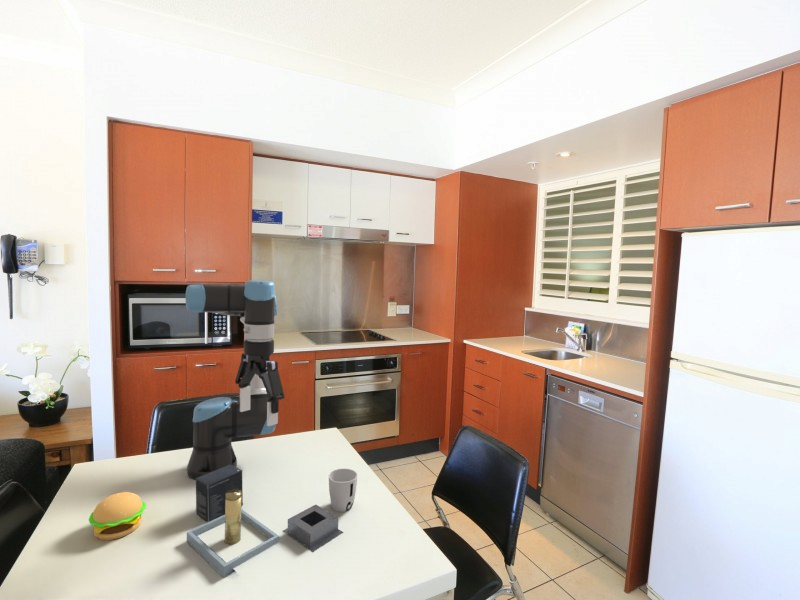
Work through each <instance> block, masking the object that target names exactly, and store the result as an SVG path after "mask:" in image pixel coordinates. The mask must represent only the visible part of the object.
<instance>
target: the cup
mask: <svg viewBox="0 0 800 600" xmlns="http://www.w3.org/2000/svg"><path fill="white" fill-rule="evenodd" d="M357 485H358V472H357V471H356V470H354V469H351V468H337V469H334V470H332V471H330V472H329V474H328V491H329V492H328V493H329V497H330V504H331V507H332V510H334V511H336V512H341V513H342V512H343V513H344V512H348V511H349V510H351V509H353V505H354V503H355V497H356V493H357Z"/></svg>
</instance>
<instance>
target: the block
mask: <svg viewBox="0 0 800 600" xmlns="http://www.w3.org/2000/svg"><path fill="white" fill-rule="evenodd" d="M282 533H284V534H286V535H287V536H288V537H290V538H292V539H293V540H294V541H295V542H296V543H298V544H300V545H301V546H302V547H304V548H305V549H307V550H308V551H309V552H312V553H314V552H316V551H317V550H318V549H320V548H322V547H323V546H325V545H326V544H328V543H329V542H331V541H333V540H334V539H336V538H337V537H339V536H341V535H343V534H344V531H343V530H341V529H339V517H338V516H337V515H335V514H333V513H331V512H330V511H328V510H326V509H324V508H323V507H321V506H319V505H317V503H316V504H314V505H311V506H310V507H308V508H306V509H304V510H302V511H300V512H299V513H297V514H295V515H292V516H291V517H290V518H288V519H287V527H286V528H285V529H284V530H282Z"/></svg>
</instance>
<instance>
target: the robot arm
mask: <svg viewBox="0 0 800 600" xmlns="http://www.w3.org/2000/svg"><path fill="white" fill-rule="evenodd" d="M277 303H278V301H277V295H276V287H275V283H274V281H271V280H264V279H263V280H261V279H258V280H257V279H256V280H255V279H254V280H253V279H251V280H246V282H245V283H244V284H243V283H242V284H241V283H239V284H237V283H236V284H235V283H229V284H226V283H225V284H202V283H197V284H188V285H187V286H186V290H185V307H186V310H187V311H188V312H190V313H199V314H200V313H212V314H218V315H222V316H230V317H231V316H234V317H235V316H237V317H239V321H240V322H241V323H242V324H243V327H244V328H243V332H244V335H243V336H244V340H243V353H241V358H240V362H239V365H238V370H237V373H236V378H235V381H234V382H235V385H236V384H237V386H238V388H239V395H238V401H233V400H232V398H231V397H229V396H217V397H213V398H210V399H206V400H203V401H202V402H201V401H200V403H198V404H197V405H196V406H195V407H194V409H193V418H192V425H193V426H192V428H193V429H192V430H193V433H192V451H191V454H190V456H189V457H190V458H189V460H188V462H187V465H186V474H187V477H188V478H190V479H192V480H195V481H196V478H198V477H200V476H203V475H205V474H208V473H210V472H213V471H215V470H218V469H220V468H223V467H225V466H228V465H232V466H235V467H237V466H238V461H237V455H236V453H235V451H234V448H233V445H232V439H233V438H234V439H235V438H243V437H244V438H245V437H246V438H247V437H254V436H259V437H260V436H262V435H271V434H272V433H273V432H275V429H276V425H277V424H279V401H280V400H284V399H285V393H284V389H283V384H282V380H281V377H280V372H279V366H278V365H279V363H278V361H277V360H273V361H271V358H270V356H272V354H274V353H275V340H274V338H275V317H276V316H277V315H278V304H277ZM237 468H238V467H237Z"/></svg>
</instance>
